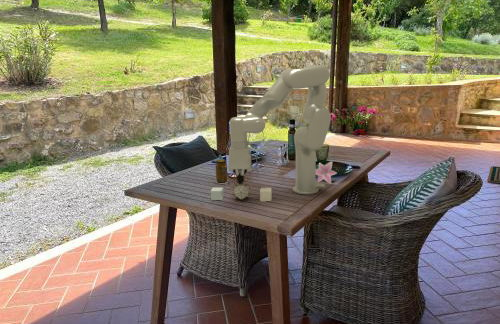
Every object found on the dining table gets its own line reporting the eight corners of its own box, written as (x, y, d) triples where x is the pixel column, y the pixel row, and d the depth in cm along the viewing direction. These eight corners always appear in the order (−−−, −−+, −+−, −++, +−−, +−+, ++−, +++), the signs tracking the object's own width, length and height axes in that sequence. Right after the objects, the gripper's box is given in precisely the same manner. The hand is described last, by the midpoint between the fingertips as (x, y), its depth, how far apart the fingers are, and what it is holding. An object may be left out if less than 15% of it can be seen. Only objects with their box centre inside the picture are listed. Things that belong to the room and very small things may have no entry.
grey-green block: (223, 197, 188) (223, 187, 187) (221, 201, 183) (221, 191, 182) (213, 197, 189) (212, 187, 187) (211, 201, 184) (210, 191, 183)
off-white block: (271, 197, 185) (271, 187, 184) (271, 201, 181) (270, 191, 179) (261, 197, 186) (260, 187, 185) (260, 201, 181) (259, 191, 180)
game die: (240, 205, 187) (240, 185, 191) (254, 201, 183) (254, 181, 186) (228, 201, 181) (228, 180, 185) (242, 197, 176) (242, 176, 180)
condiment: (227, 179, 215) (226, 158, 212) (230, 184, 207) (229, 162, 204) (214, 181, 213) (212, 159, 210) (216, 185, 205) (215, 163, 202)
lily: (308, 181, 211) (308, 168, 204) (321, 169, 216) (322, 156, 209) (327, 192, 204) (328, 179, 198) (340, 179, 210) (341, 166, 203)
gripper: (256, 142, 180) (257, 180, 185) (224, 142, 182) (226, 180, 187) (254, 146, 173) (255, 185, 178) (221, 146, 175) (223, 185, 180)
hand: (240, 183), depth 182 cm, fingers closed
